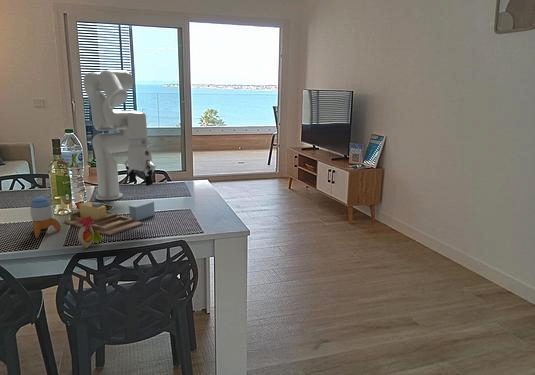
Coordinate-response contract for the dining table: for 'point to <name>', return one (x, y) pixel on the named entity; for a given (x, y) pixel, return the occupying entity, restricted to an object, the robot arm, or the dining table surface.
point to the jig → (106, 223)
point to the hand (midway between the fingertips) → (140, 183)
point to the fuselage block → (92, 210)
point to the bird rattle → (87, 233)
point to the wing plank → (141, 210)
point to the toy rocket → (42, 215)
